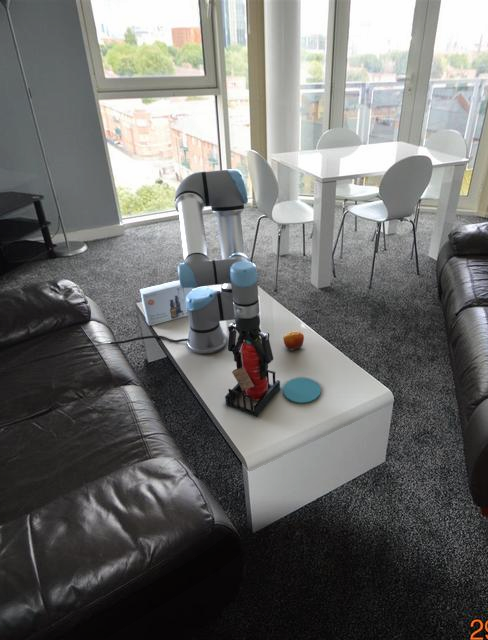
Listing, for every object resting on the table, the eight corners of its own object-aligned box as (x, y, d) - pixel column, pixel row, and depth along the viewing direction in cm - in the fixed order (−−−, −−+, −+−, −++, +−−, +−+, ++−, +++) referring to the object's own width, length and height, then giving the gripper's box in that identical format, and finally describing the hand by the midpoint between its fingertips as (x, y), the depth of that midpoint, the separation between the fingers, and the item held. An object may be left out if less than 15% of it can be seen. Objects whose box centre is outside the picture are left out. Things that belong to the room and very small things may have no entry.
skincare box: (149, 327, 188) (142, 294, 179) (146, 321, 192) (138, 288, 183) (196, 314, 197) (191, 281, 188) (192, 308, 200) (187, 277, 192)
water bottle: (245, 411, 144) (239, 348, 130) (232, 398, 149) (224, 337, 135) (274, 395, 150) (271, 334, 136) (261, 384, 155) (256, 323, 141)
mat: (276, 396, 150) (276, 394, 149) (294, 375, 159) (294, 373, 159) (310, 408, 144) (310, 407, 144) (326, 385, 154) (326, 384, 153)
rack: (226, 405, 146) (223, 388, 142) (251, 379, 157) (249, 363, 153) (256, 417, 141) (255, 400, 137) (280, 389, 152) (279, 372, 148)
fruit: (291, 353, 167) (286, 333, 167) (284, 353, 175) (278, 334, 174) (310, 348, 170) (305, 328, 170) (301, 348, 178) (296, 328, 177)
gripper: (210, 311, 132) (218, 370, 145) (271, 328, 124) (273, 389, 137) (225, 300, 138) (231, 358, 151) (283, 315, 129) (285, 376, 142)
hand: (251, 373), depth 144 cm, fingers closed on water bottle, 8 cm apart
